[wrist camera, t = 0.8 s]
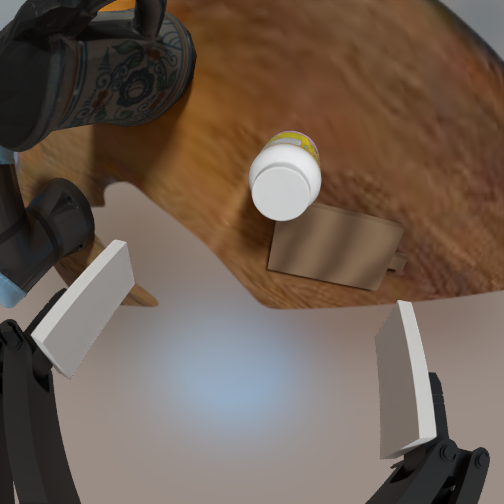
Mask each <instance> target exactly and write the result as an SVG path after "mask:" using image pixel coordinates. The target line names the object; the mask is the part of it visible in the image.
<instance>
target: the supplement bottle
mask: <svg viewBox="0 0 504 504" xmlns="http://www.w3.org/2000/svg"><path fill="white" fill-rule="evenodd" d="M249 186H250V189H251V192H252V199H253V202H254V204H255V206H256V208H257V209H258V210H259V211H260V212H261V213H262V214H263V215H265V216H266V217H268V218H270V219H273V220H277V221H287V220H291V219H294V218H296V217H298V216H300V215H301V214H302V213H303V212H304V211H305V210H306V208H307V207H308V206H310V205H311V204H312V203H313V202H314V200H315V199H316V197H317V195H318V193H319V190H320V186H321V173H320V160H319V153H318V150H317V148H316V146H315V144H314V142H313V141H312V140H311V139H310V138H309V137H307V136H306V135H304V134H302V133H300V132H296V131H285V132H281V133H279V134H277V135H275V136H274V137H272V138H271V139H270V140H269V141H268V142H267V144H266V145H265V146H264V148H263V149H262V150H261V152H260V153H259V154H258V156H257V157H256V158H255V160H254V161H253V163H252V165H251V168H250V171H249Z"/></svg>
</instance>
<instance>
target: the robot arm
mask: <svg viewBox="0 0 504 504" xmlns="http://www.w3.org/2000/svg"><path fill="white" fill-rule="evenodd" d="M14 163H15V160H14V159H13V155H12V151H11V150H8V149H7V148H4V147H2V146H0V304H1V305H2V306H4V307H6V308H12V307H14V306H15V305H16V304H17V303H18V302H19V301H20V300H22V299H23V298H24V297H26V295H27V293H28V292H29V291H30V289H32V287H33V286H34V285H35V284H36V283H37V282H38V281H39V280H40V279H41V278H42V277H43V275H45V273H46V272H47V271H48V270H49V269H50V268H51V267H52V266H53V265H54V264H55V263H56V262H57V261H58V260H59V259H61V258H64V257H66V256H69V255H71V254H73V253H76V252H78V251H80V250H82V249H83V248H85V247H86V246H87V245H88V244H89V243H90V242H91V240H92V239H93V236H94V231H95V224H94V218H93V214H92V211H91V208H90V206H89V204H88V202H87V200H86V198H85V197H84V195H83V194H82V192H81V191H80V190H79V189H78V188H77V187H76V186H75V185H74V184H73V183H71V182H70V181H68V180H66V179H63V178H55V179H53V180H51V181H50V182H48V183H46V184H45V185H44V186H43V187H42V188H41V189H40V191H39V192H38V193H37V194H36V196H35V197H34V198H33V200H32V201H31V203H30V204H29V205H28V207H26V208H25V207H24V203H23V200H22V196H21V192H20V188H19V184H18V180H17V175H16V170H15V165H14ZM134 284H135V282H134V277H133V272H132V268H131V263H130V258H129V252H128V247H127V243H126V242H123V241H119V240H114V241H113V242H112V243H111V244H110V245H109V246H108V247H107V248H106V249H105V250H104V251H103V252H102V253H101V254H100V255H99V256H98V257H97V258H96V259H95V260H94V261H93V262H92V263H91V264H90V265H89V266H88V267H87V269H86V270H85V271H84V272H83V273H82V274H81V275H80V276H79V277H78V278H77V279H76V281H75V282H74V283H73V284H72V285H71V286H70V287H69V288H68V289H65V288H63V289H62V290H60V291H59V292H58V293H56V294H55V295H54V296H53V297H52V298H51V299H50V301H49V303H47V304H46V305H45V307H44V308H43V309H42V310H41V311H40V312H39V314H38V315H37V316H36V317H35V319H34V320H33V321H32V322H31V324H30V325H29V326H28V327H27V329H26V330H25V331H24V332H22V330H21V328H20V327H19V325H18V324H17V322H16V321H15V320H13V319H7V320H5V321H4V322H2V323H1V324H0V504H15V499H14V488H13V481H14V485H15V488H16V492H17V496H18V499H19V504H81V502H80V499H79V497H78V494H77V491H76V488H75V485H74V482H73V479H72V475H71V472H70V469H69V465H68V461H67V458H66V454H65V450H64V445H63V441H62V437H61V432H60V426H59V421H58V415H57V409H56V402H55V394H54V387H53V386H54V385H53V375H52V371H51V368H52V366H54V368H55V369H56V370H57V371H58V372H59V373H60V374H62V375H63V376H65V377H67V378H68V379H71V377H72V376H73V374H74V373H75V371H76V369H77V368H78V366H79V365H80V363H81V361H82V360H83V358H84V357H85V355H86V353H87V352H88V350H89V349H90V347H91V346H92V344H93V342H94V341H95V340H96V338H97V337H98V335H99V334H100V332H101V331H102V329H103V328H104V326H105V325H106V323H107V322H108V320H109V319H110V318H111V316H112V315H113V313H114V312H115V310H116V309H117V308H118V306H119V305H120V303H121V302H122V301H123V299H124V298H125V297H126V295H127V294H128V292H129V291H130V290H131V288H132V287H133V286H134ZM375 344H376V353H377V365H378V377H379V394H380V421H381V422H380V426H381V441H380V442H381V443H380V459H394V458H398V457H400V456H402V455H404V460H402V461H400V462H398V463H396V464H394V465H393V466H392V467H390V468H392V469H393V468H395V467H397V468H396V469H395V470H394V471H393V473H392V474H391V475H390V476H389V478H388V479H387V480H386V481H385V482H384V484H383V485H382V486H381V487H380V488H379V490H377V492H376V493H375V494H374V495H373V496H372V497H371V498H370V499H369V500H368V501H367V502H366V503H365V504H477V503H478V501H479V498H480V494H481V492H482V489H483V485H484V482H485V478H486V475H487V471H488V467H489V462H490V457H489V453H488V451H487V450H486V449H485V448H482V447H480V448H477V449H475V450H474V451H472V452H471V451H467V450H463V449H459V448H458V447H457V445H456V443H455V442H454V441H453V440H451V439H449V435H448V427H447V419H446V411H445V405H444V398H443V396H442V394H443V392H442V387H441V382H440V380H439V379H438V377H437V375H436V373H430V372H428V371H427V365H426V360H425V355H424V351H423V347H422V342H421V338H420V334H419V330H418V326H417V322H416V318H415V315H414V311H413V307H412V304H411V302H405V301H400V300H397V302H396V304H395V306H394V307H393V309H392V311H391V312H390V314H389V316H388V317H387V319H386V320H385V322H384V324H383V325H382V327H381V328H380V330H379V331H378V333H377V335H376V336H375ZM454 486H455V487H454ZM453 488H454V490H453Z"/></svg>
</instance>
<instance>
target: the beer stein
mask: <svg viewBox="0 0 504 504" xmlns="http://www.w3.org/2000/svg"><path fill="white" fill-rule="evenodd" d="M114 1H116V0H27V1H26V2H25V3H24V4H23V5H22V6H21V8H20V9H19V11H18V12H17V14H16V16H15V18H14V19H13V20H12V21H11V22H10V23H9V24H8V25H7V26H5V27H4V28H3V29H2V31H0V146H2V147H4V148H7V149H8V150H11V151H14V152H22V151H26V150H28V149H30V148H32V147H34V146H35V145H36V144H38V143H39V142H40V141H42V140H43V139H45V138H46V137H47V136H48V135H49V134H50V133H51V132H52V131H56V130H61V129H66V128H72V127H78V126H84V125H90V124H99V123H109V124H112V125H116V126H122V127H129V126H138V125H142V124H145V123H148V122H150V121H152V120H154V119H156V118H158V117H159V116H161V115H162V114H163V113H164V112H166V111H167V110H168V109H169V108H170V107H171V106H172V105H173V104H174V103H176V102H177V101H178V100H179V99H180V98H181V97H183V95H184V93H185V91H186V89H187V87H188V86H189V84H190V82H191V80H192V78H193V74H194V68H195V63H196V57H197V55H196V51H195V48H194V44H193V41H192V38H191V34H190V33H189V31H188V30H187V29H186V28H185V27H184V26H183V25H182V24H181V22H180V21H179V20H178V19H177V18H176V17H174V16H173V15H171V14H170V13H168V12H166V4H167V0H136V4H135V8H131V9H128V10H122V11H104V12H98V11H99V10H100V9H101V8H103V7H104V6H106V5H108V4H110V3H112V2H114Z"/></svg>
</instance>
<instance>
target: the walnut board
mask: <svg viewBox="0 0 504 504" xmlns="http://www.w3.org/2000/svg"><path fill="white" fill-rule="evenodd" d="M404 230H405V229H404V227H403V225H402V224H401V223H397V222H393V221H390V220H386V219H382V218H378V217H374V216H370V215H366V214H362V213H358V212H354V211H350V210H346V209H341V208H337V207H333V206H328V205H324V204H319V203H315V202H313V203H312V204H311V205H310V206H308V207H307V208H306V210H305V211H304V212H303V213H302V214H301V215H300V216H298V217H296V218H294V219H291V220H287V221H277V220H276V224H275V230H274V235H273V241H272V247H271V252H270V258H269V263H268V269H270V270H275V271H280V272H284V273H289V274H294V275H299V276H304V277H309V278H314V279H319V280H324V281H329V282H334V283H339V284H344V285H349V286H354V287H359V288H364V289H369V290H374V291H377V289H378V287H379V285H380V283H381V281H382V279H383V277H384V275H385V273H386V271H387V269H388V268H390V269H395V270H399V271H402V270H403V268H404V266H405V264H406V262H407V258H406V256H405V254H402V253H398V252H395V251H396V249H397V247H398V244H399V242H400V240H401V237H402V235H403V233H404Z"/></svg>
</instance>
